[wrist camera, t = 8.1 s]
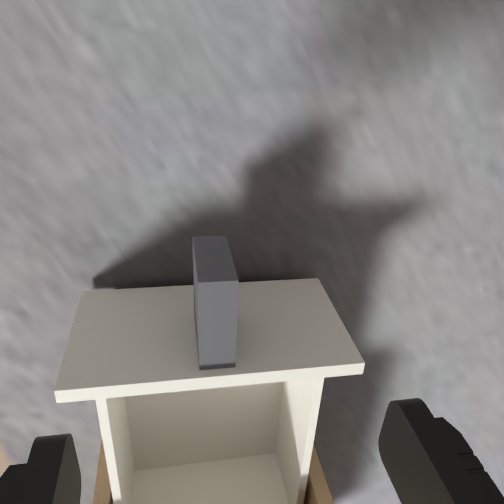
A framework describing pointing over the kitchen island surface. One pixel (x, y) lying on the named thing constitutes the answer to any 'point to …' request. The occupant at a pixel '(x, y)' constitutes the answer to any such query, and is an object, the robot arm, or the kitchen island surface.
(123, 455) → the white drawer
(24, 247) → the kitchen island surface
